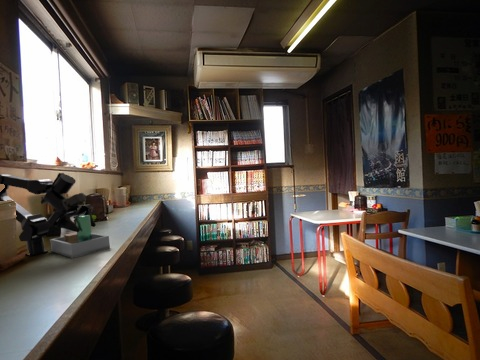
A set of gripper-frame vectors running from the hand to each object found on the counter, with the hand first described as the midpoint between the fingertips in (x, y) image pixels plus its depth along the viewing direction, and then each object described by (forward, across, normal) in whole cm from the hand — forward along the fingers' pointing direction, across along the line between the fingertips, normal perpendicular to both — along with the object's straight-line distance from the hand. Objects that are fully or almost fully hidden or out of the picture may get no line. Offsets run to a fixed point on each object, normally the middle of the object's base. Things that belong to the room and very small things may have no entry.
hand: (87, 228), depth 114 cm
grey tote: (+2, +3, +11) cm, 12 cm away
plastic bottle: (-11, +19, +24) cm, 33 cm away
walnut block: (-3, +6, +14) cm, 15 cm away
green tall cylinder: (+5, 0, +7) cm, 8 cm away
